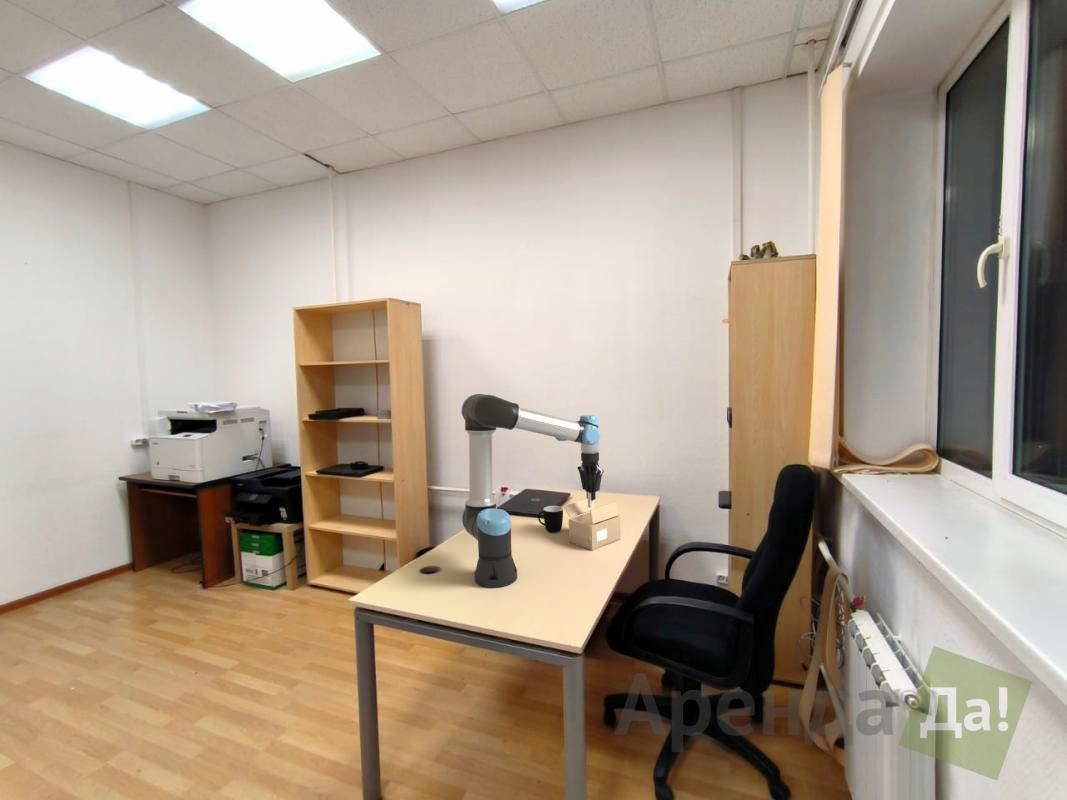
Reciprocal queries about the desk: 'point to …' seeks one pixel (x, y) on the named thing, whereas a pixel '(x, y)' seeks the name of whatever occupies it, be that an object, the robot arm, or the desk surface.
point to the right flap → (604, 512)
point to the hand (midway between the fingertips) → (591, 506)
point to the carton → (593, 531)
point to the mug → (552, 518)
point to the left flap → (578, 508)
